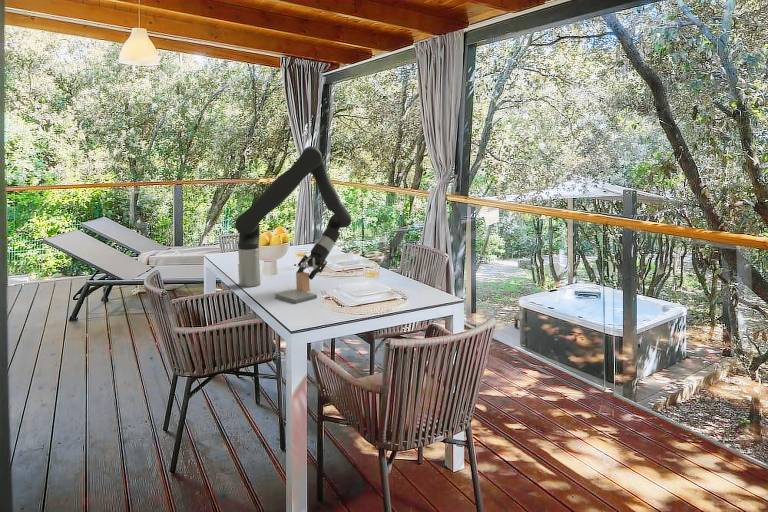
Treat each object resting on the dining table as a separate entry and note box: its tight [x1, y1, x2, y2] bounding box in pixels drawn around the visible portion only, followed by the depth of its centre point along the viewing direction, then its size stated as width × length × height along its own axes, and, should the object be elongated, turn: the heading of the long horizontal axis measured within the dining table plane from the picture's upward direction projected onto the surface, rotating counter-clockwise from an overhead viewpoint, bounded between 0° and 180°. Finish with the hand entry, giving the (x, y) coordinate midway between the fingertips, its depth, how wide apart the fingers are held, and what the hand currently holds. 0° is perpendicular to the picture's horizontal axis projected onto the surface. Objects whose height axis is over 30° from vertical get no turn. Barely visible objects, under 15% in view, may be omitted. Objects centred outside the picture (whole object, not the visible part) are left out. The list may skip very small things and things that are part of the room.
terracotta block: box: [295, 271, 310, 292], centre depth 240 cm, size 4×4×8 cm
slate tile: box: [274, 288, 318, 304], centre depth 229 cm, size 14×11×2 cm
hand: (303, 277), depth 240 cm, fingers open, 8 cm apart
